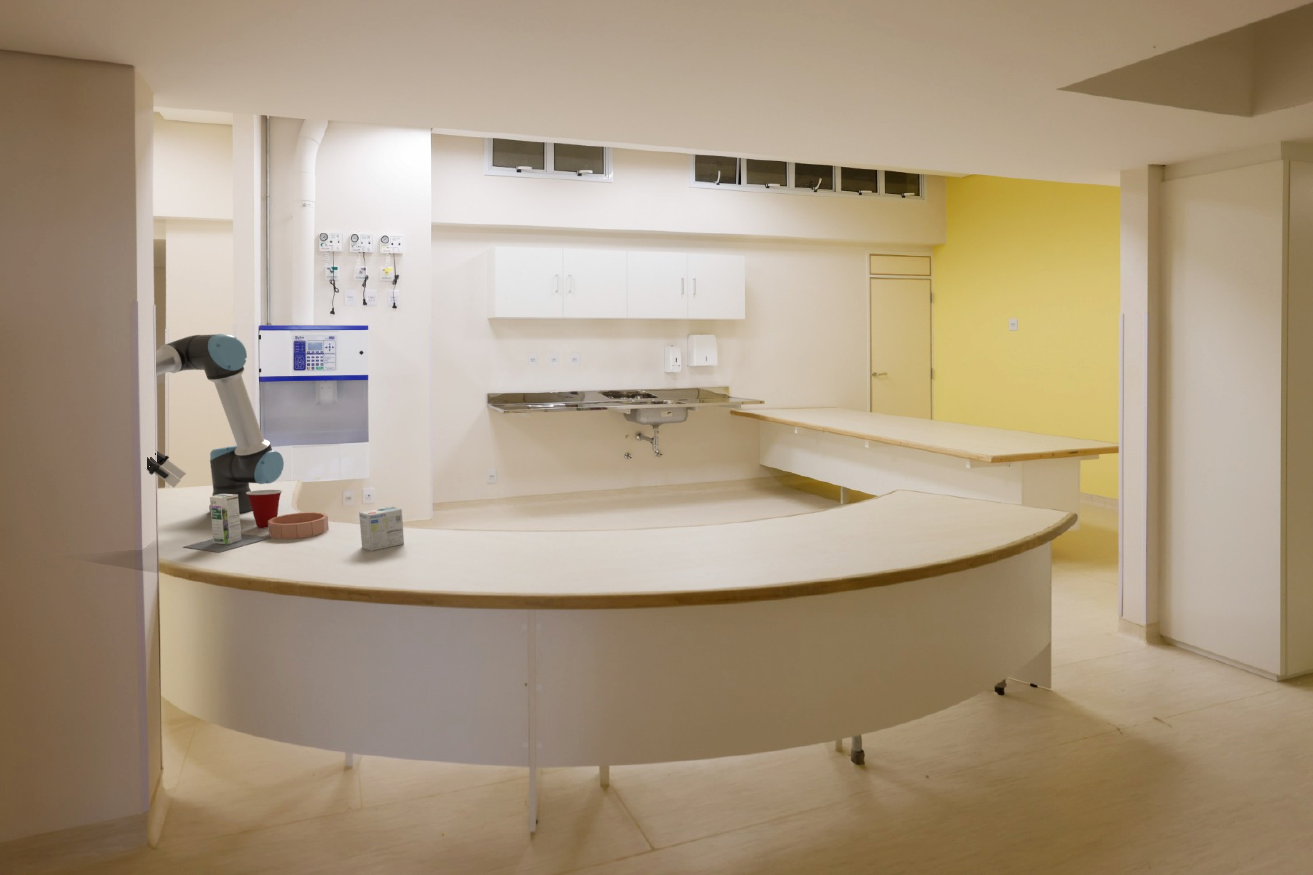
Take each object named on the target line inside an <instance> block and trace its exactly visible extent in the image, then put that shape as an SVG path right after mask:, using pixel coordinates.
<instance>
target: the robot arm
mask: <svg viewBox="0 0 1313 875" xmlns="http://www.w3.org/2000/svg"><path fill="white" fill-rule="evenodd" d="M155 351H156V376H155V377H157V376H160V375H163V374H166V373H172V374H176V373H179V372H182V371H194V370H195V371H196V370H197V371H198V370H199V371H204V373H205V376H206V378H207V380H208V381H210V382H213V384H214V386H215V389H216V392H217V395H218V397H219V399H220V402H221V405H222V408H223V410H224V413H225V416H226V419H227V421H228V424H229V427H230V429H231V434H232V436H233V438H234V441H235V444H236V445H232V446H226V447H219V448H214V449H212V450H211V451H210V452H209V454H210V457H209V459H210V460H209V462H210V472H211V480H212V481H211V482H212V495H211V496H214V495H218V494H232V495H238V502H239V514H242V513H246V512H251V511H252V507H251V503H250V500H249V497H248V495H247V494H246V492H250V491H252V490H251V488H250V484H259V485H265V484H267V485H268V484H272V483H274V482H276V481H277V480H279V478H280V477H281V475H282V472H283V471H284V464H285V462H284V458H283V455H282V453H280V452H278V451H277V450H275V449H273V448H272V446H271V443H270V441H269V440H268V439H265V438H264V436H263V434H262V431H261V429H260V428H261V427H260V425H259V422H258V420H257V416H256V414H255V410H254V408H253V406H252V402H251V399H250V397H249V394H248V390H247V388H246V385H245V382H244V379H243V377H242V375H243V373H244V372H245V367H244V365H245V364H246V361H247V358H248V355H247V349H246V347H245V344H244V343H243V342H242V341H241V340H240V339H239V338H238V337H236V336H233V335H231V334H225V333H224V334H223V333H217V334H194V335H190V336H186V337H183V338H179V339H176V340H174V341H172V342H171V341H170V342H168V343H165V344H162V345H160V346H159V348H158V349H157V350H155ZM156 451H157V462H156V461H155V460H154V459H153V458H152V457H150V459H149V458H148V457H147V469H146V470H147V471H148V474H149V475H151V476H153V475H154V474H155V475H156V476H157V477H159V478H160V479H161V480H162V481H164V482H165V483H167V484H168V485H169V486H171V487H172V488H175V487H176V486H177V485H178V484H179V483H180V482H181V480H182V478H183V477H184V476H186V475H187V473H186V472H185V471H184V470H182V469H181V468H180V467H178V466H177V465H176V464H175V463H173V462H172V461H170V460H169V459H170V457H169V455H164V454H163V453H161V452H159V451H158V450H156ZM155 455H156V453H155ZM149 466H150V467H149ZM208 510H209V514H211V506H210V505H209V508H208Z"/></svg>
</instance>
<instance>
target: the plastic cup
mask: <svg viewBox="0 0 1313 875" xmlns="http://www.w3.org/2000/svg"><path fill="white" fill-rule="evenodd" d="M282 492H283V490H282V489H260V490H259V489H257V490H251V491H250V492H246V494H247V495H248V497H249V500H250V503H251V507H252V510H251V511H252V514H253V515H252V516H253V518H254V520H255V524H256V528H258V529H269V528H268V520H270V519H272V518H274V517H278V515H279V514H278V513H279V505H280V504H279V503H280V497H281V494H282Z"/></svg>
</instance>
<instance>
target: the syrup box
mask: <svg viewBox="0 0 1313 875" xmlns="http://www.w3.org/2000/svg"><path fill="white" fill-rule="evenodd" d="M209 503H210V504H209V506H211V513H210V515H211V527H212V539H213V543H214V544H216V543H217V544H226V545H227V544H231V543H234V542H237V541H240V540H241V534H242V530H241V517H240V513H239V502H238V495H232V494H218V495H214V496H212V495H211V496H209Z"/></svg>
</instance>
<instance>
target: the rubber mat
mask: <svg viewBox="0 0 1313 875" xmlns="http://www.w3.org/2000/svg"><path fill="white" fill-rule="evenodd" d="M269 539H272V537H271V536H263V535H262V536H261V535H255V534H247V533H241V540H240V541H237V542H234V543H231V544H227V545H226V544H217V543H216V544H214V543H213V538H211V539H206V540H203V541H200V542H196V543H192V544H188V545H185V546H183V548H184V549H193V550H197V551H206V552H212V553H213V552H214V553H223V552H227V551H230V550H234V549H237V548H240V546H241V547H244V546H243V545H245V546H248V545H252V544H255V543H259V542H262V540H263V541H266V540H269ZM258 541H259V542H258ZM229 549H230V550H229Z"/></svg>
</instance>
